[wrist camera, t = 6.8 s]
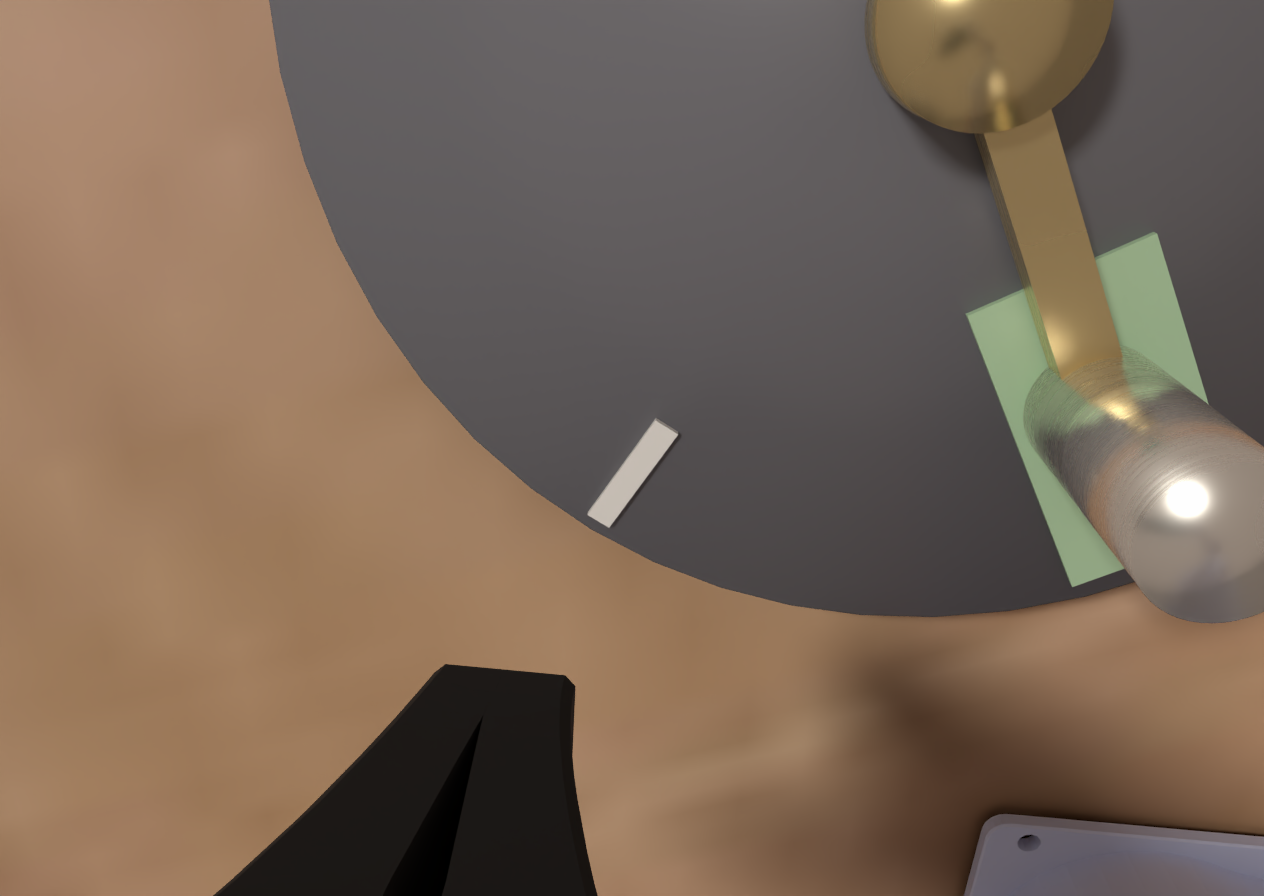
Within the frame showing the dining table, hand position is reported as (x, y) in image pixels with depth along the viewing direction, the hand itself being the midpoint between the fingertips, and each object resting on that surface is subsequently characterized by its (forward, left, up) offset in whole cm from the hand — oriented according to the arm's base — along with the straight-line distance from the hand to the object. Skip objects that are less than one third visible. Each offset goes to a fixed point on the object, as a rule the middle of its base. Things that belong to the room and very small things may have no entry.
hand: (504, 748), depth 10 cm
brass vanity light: (-7, -4, -9) cm, 12 cm away
